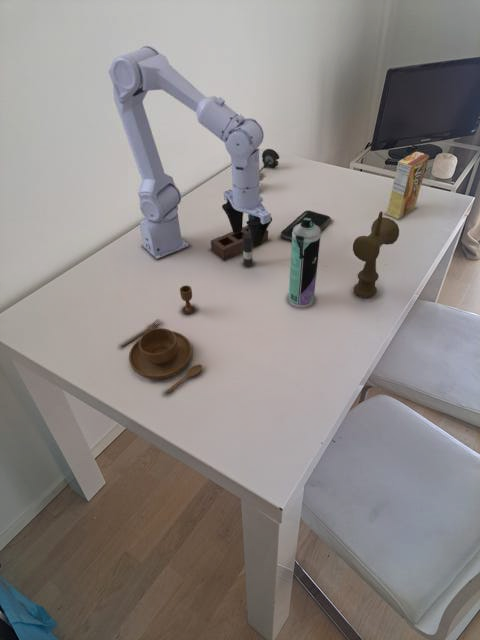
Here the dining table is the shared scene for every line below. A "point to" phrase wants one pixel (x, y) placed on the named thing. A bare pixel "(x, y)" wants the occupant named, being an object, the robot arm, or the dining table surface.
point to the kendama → (373, 253)
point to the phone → (316, 219)
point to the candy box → (407, 184)
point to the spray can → (304, 263)
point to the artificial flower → (268, 162)
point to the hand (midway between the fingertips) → (247, 238)
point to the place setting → (163, 349)
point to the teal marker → (250, 219)
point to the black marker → (247, 250)
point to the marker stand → (231, 243)
